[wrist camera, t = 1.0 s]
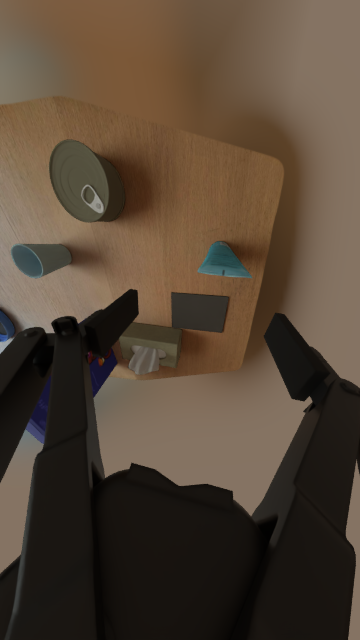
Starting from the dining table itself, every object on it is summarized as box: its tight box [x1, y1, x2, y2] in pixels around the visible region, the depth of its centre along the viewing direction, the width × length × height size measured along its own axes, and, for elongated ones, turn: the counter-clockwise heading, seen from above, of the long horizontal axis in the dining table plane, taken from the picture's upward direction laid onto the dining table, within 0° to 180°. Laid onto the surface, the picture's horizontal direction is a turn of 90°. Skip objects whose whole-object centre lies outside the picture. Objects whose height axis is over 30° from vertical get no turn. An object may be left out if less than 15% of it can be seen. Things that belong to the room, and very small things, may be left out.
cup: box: [11, 244, 72, 278], centre depth 41 cm, size 8×8×10 cm
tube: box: [198, 241, 252, 278], centre depth 30 cm, size 7×5×19 cm, turn 91°
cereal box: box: [26, 319, 117, 444], centre depth 49 cm, size 22×6×30 cm, turn 4°
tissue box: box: [119, 322, 182, 374], centre depth 48 cm, size 19×10×16 cm, turn 87°
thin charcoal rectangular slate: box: [171, 292, 229, 333], centre depth 47 cm, size 16×12×1 cm
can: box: [49, 140, 125, 222], centre depth 33 cm, size 12×12×7 cm
